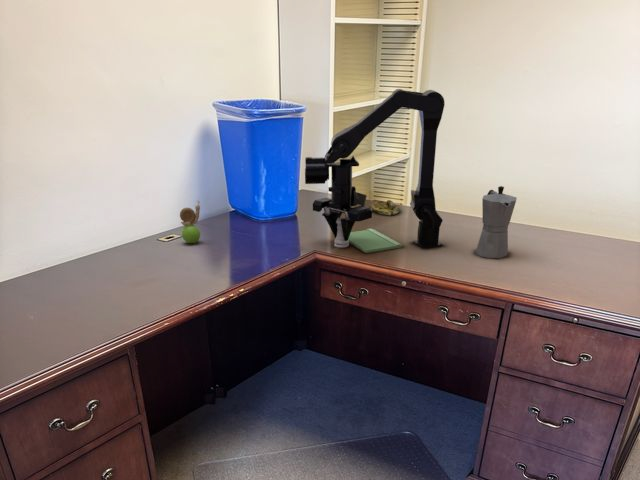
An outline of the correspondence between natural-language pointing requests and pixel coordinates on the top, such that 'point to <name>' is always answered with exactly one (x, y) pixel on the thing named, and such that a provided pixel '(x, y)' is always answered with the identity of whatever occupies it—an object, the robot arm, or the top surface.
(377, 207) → the olive lumpy piece
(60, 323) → the top surface
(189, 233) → the snail figurine
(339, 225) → the rook chess piece
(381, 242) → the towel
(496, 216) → the coffeepot
